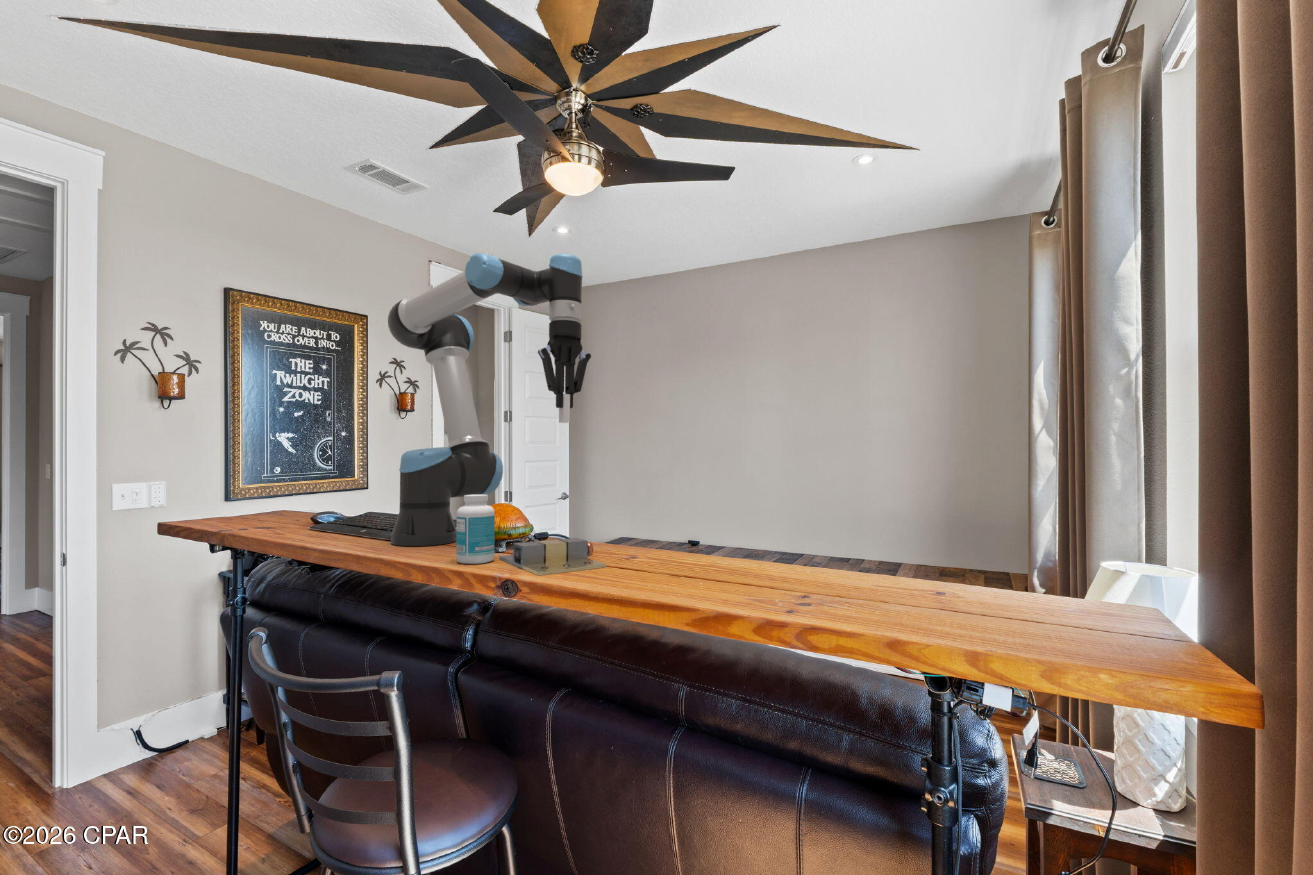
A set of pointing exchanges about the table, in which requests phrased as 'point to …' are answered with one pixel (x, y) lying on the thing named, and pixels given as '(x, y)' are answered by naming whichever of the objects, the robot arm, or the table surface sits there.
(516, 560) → the three blocks on plate
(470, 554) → the pill bottle
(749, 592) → the table surface
